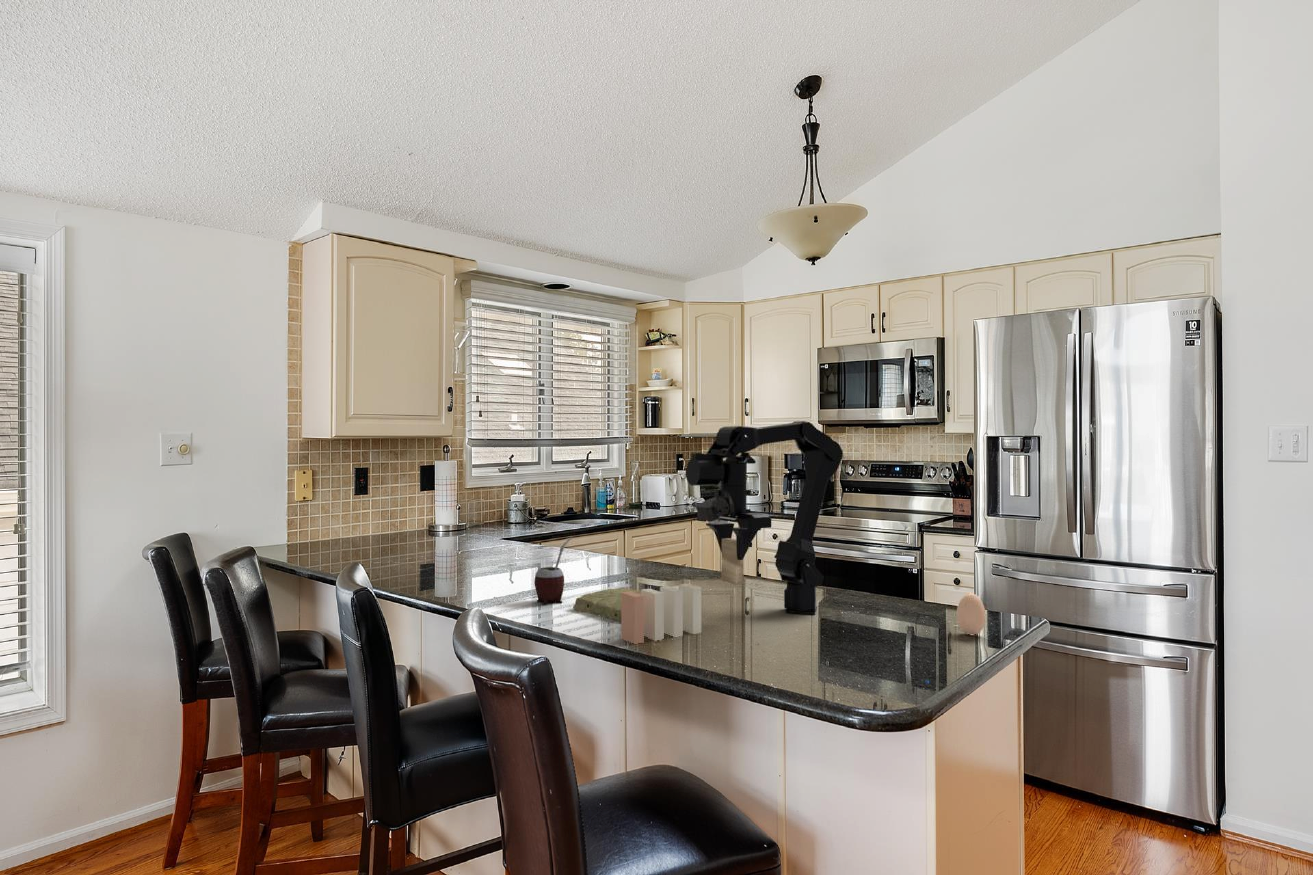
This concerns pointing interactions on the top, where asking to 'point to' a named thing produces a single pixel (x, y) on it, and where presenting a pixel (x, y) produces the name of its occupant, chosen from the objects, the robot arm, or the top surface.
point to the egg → (971, 614)
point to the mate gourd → (550, 582)
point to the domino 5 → (731, 562)
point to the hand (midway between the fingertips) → (732, 558)
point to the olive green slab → (603, 602)
